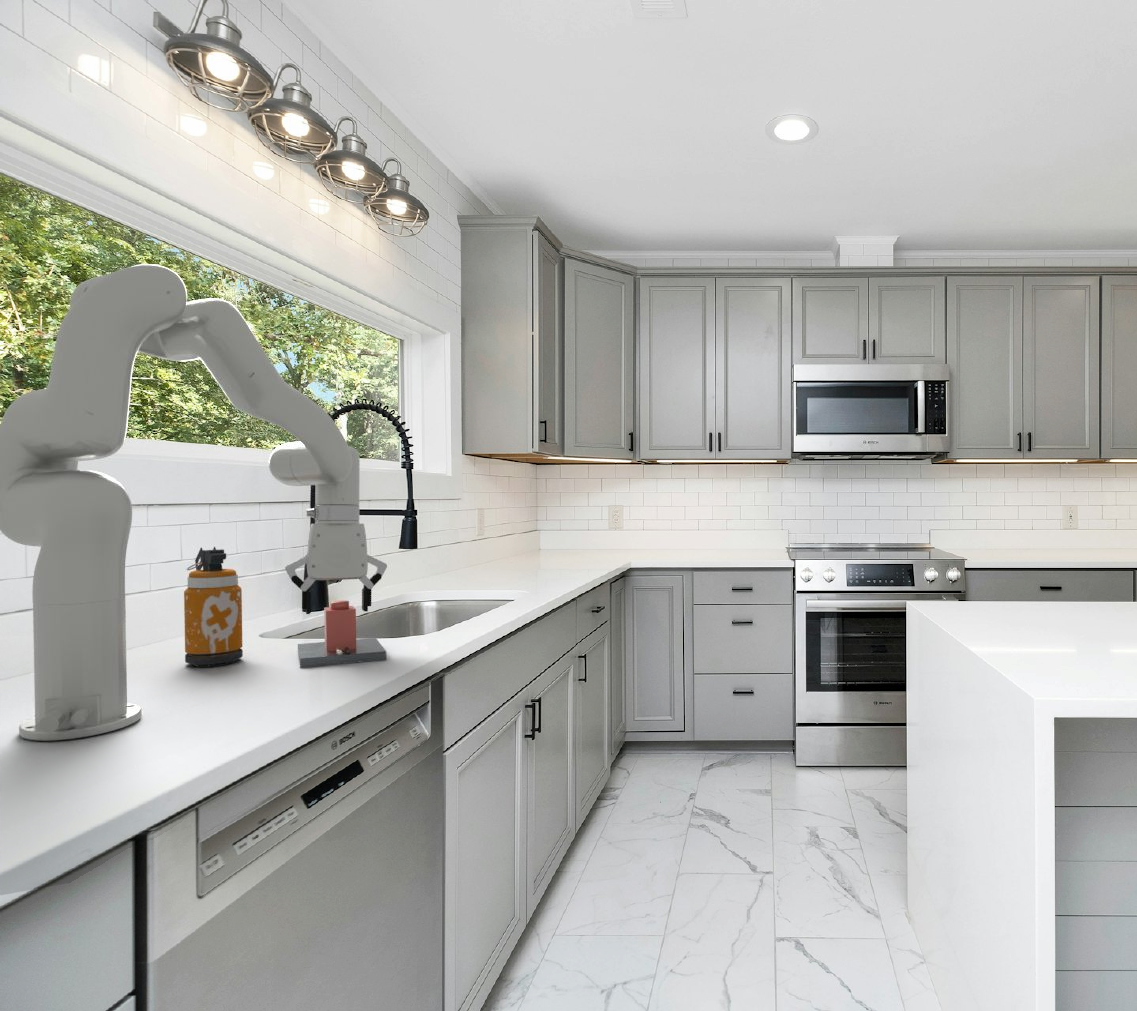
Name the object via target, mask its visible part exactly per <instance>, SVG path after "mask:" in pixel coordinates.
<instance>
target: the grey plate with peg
mask: <svg viewBox="0 0 1137 1011" xmlns="http://www.w3.org/2000/svg"><path fill="white" fill-rule="evenodd" d="M297 656H298V661H299V668H301V669H303V668H312V667H313V668H314V667H320V666H321V667H322V666H333V665H343V664H344V663H345V664H353V662H356V663H360V662H359V661H367V662H377V661H385V660H387V651H386V649H385V648H384V646H383V645H382V644H381V642H380V641H379V640H378V639H377V638H376V637H369V638H356V649H349V647H345V648H344V650H341V649H340V648H336V651H326V648H325V641H320V642H308V643H298V644H297ZM345 664H344V665H345Z"/></svg>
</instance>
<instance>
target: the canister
mask: <svg viewBox="0 0 1137 1011" xmlns="http://www.w3.org/2000/svg"><path fill="white" fill-rule="evenodd" d="M226 559H227V553H225V549H221V548H220V549H217V548H216V546H214V547H213V549H205V550H204V549H203V547H200V549H199V551H198V553H197V555H196V557H195V559H194V564H192V565H190V566H189V567H186V571H190V572H189V573H188V576H187V588H186V589H185V590H184V592H183V602H184V603H183V604H184V605H183V608H184V609H183V610H184V611H183V613H184V652H185V654H184V660H185V663H186V664H189V665H193V666H194V667H201V668H204V667H205V668H206V667H207V668H208V667H211V668H212V667H220V666H224V665H229V664H232V663H234V662H235V661H236V660H239V659H242V658H243V651H244V650H243V649H242V648H243V599H242V598H243V596H242V595H243V592H242V587H241V586H240V585H239V578H238V577H239V576H238V573H237V570H235V569H232V568H223V564H224V560H226ZM193 569H195V570H193ZM191 570H193V571H191Z"/></svg>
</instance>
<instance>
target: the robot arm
mask: <svg viewBox="0 0 1137 1011" xmlns="http://www.w3.org/2000/svg"><path fill="white" fill-rule="evenodd" d="M138 353H141V354H143V355H144V354H145V355H149V356H150V357H156V358H159V359H163V360H169V361H173V362H190V361H196V360H201V362H202V364H203V365H204V366H205V367H206V369H207V370H208V372H209V373H210V374H211V376H212V378H214V380H215V381H216V383H217V385H218V386H219V388H221V390H222V392H223V393H224V395H225V396H226V397H227V399H228V400H229V402H230V403H231V405H232V406H233V407H234V408H235V409H236V410H238V411H240V412H243V413H244V414H246V415H248V416H250V417H253V418H256V419H258V420H262V421H265V422H268V423H270V424H273V425H275V426H278V427H279V428H282V429H283V430H285V431H286V432H288V433H289V434H291V435H292V436H294V437H295V438H296V439H297V440H298V441H292V442H285V443H283V444H281V445H278V446H277V447H276V448H274V450H273V451H272V453H271V454H270V456H269V460H268V467H269V471H270V474H271V475H272V477H274V479H276V481H278V482H279V483H282V484H283V485H287V486H291V487H292V486H293V487H304V486H315V496H314V497H315V502H314V503H315V504H314V507H313V508H306V517H307V518H308V517H310V518H313V519H314V523H311V524H310V527H309V531H308V532H309V534H308V540H307V541H308V542H307V552H306V555H305V556H302V557H301V558H299V559H296V560H295V561H293V562H290V563H289V564H287V565H285V567H284V569H285V571H286V573H287V575H288V577H289V579H290V580H291V582H292V583H293V584H295V586H296V587H298V589H300V590H301V610H305V614H306V615H310V614H312V590H311V588H310V587H312V585H313V584H314V582H316V581H340V580H341V581H342V580H344V581H345V580H359V581H360V582H361V583H362V584H363V587H362V589H361V610H362V611H363V612H368V611H369V607H372V589H373V588H374V587H375V585H377V583H378V582H380V581H381V579H382V577H383V575H384V573H385V572H386V570H387V568H388V565H387V563H386V562H383V561H381V560H379V559H377V558H375V557H373V556H371V555H370V554H368V546H367V542H368V541H367V533H366V528H365V524H364V523H360V466H361V465H360V463H361V462H360V459H361V458H360V452H359V451H358V449H357V448H354V447H352V446H349V445H348V442H347V440H346V439H345V437H344V435H343V434H342V432H341V430H340V429H339V427H338V425H337V424H336V423H335V421H334V420H333V418H332V417H331V416H330V415H329V413H327V412H326V410H324V409H323V408H322V407H321V406H320V405H318V404H317V403H316V402H315V401H313V400H312V399H311V398H309V397H308V396H306V395H305V394H304V393H302V392H301V391H300V390H299V389H296V388H295V387H294V386H292V385H291V384H289V383H288V382H286V381H285V380H284V379H283V378H282V375H280V374H279V372H278V370H277V368H276V367H275V366H274V363H272V361H271V359H270V358H269V356H268V355H267V353H266V352H265V350H264V349H263V347H262V345H261V344H260V342H259V341H258V339H257V337H256V336H255V334H254V332H253V330H252V329H251V327H250V326H249V324H248V323H247V321H246V320H245V318H244V317H243V315H242V314H241V312H240V311H239V309H238V308H237V307H236V306H235V305H234V304H232V303H231V302H229V301H227V300H224V299H221V298H204V299H203V298H201V299H196V300H191V301H188V293H187V287H186V285H185V283H184V281H183V280H182V278H181V277H180V275H179V274H178V273H176V272H175V271H173V269H170V268H168V267H166V266H162V265H159V264H151V263H150V264H149V263H148V264H145V263H144V264H137V265H133V266H129V267H125V268H120V269H119V270H116V271H113V272H111V273H108V274H103V275H101V276H95V277H92V278H90V279H87V280H85V281H83V282H81V283H79V284H78V285H77V286H76V287H75V288H74V290H73V292H72V293H71V296H70V299H69V309H68V311H67V312H66V314H65V316H64V318H63V319H62V321H61V323H60V326H59V330H58V332H57V336H56V338H55V344H54V351H53V356H52V361H51V366H50V367H51V368H50V373H49V380H48V383H47V386H46V388H42V389H36V390H32V391H29V392H27V393H24V394H22V395H20V396H19V397H17V398H16V399H14V400H13V402H12V403H11V404H10V405H9V406H8V408H7V409H6V410H5V413H3V417H2V419H1V422H0V532H1V533H2V534H3V536H4V537H6V538H7V539H9V540H11V541H13V542H15V543H17V544H20V545H24V546H29V547H40V549H39V553H38V557H37V559H36V563H35V566H34V570H33V578H32V589H31V590H32V591H31V592H32V620H33V621H32V624H33V626H32V628H33V630H32V631H33V670H34V673H33V677H34V679H33V680H34V684H33V685H34V686H33V687H34V716H31V717H29V718H27V719H25V720H24V721H23V722H22V723H20V724H19V727H18V730H19V731H18V734H19V736H20V737H21V738H23V739H26V740H29V741H30V740H31V741H44V742H45V741H48V742H49V741H63V740H64V741H65V740H73V739H80V738H87V737H91V736H92V737H93V736H97V735H101V734H102V735H103V734H106V733H109V732H110V733H111V732H113V731H117V730H120V729H123V728H126V727H129V726H131V725H133V724H134V723H136V722H138V721H139V720H140V719H141V718H142V716H143V715H142V707H141V706H139V705H137V704H134V703H129V702H128V678H127V676H128V675H127V674H128V671H127V670H128V669H127V666H128V665H127V620H126V618H127V617H126V559H127V558H126V557H127V549H128V548H127V547H128V543H129V539H130V533H131V528H132V522H133V506H132V500H131V499H130V496H129V494H128V492H127V490H126V489H125V488H124V486H123V485H122V484H121V482H119V481H117V479H115V478H114V477H111V476H109V475H107V474H105V473H103V472H99V471H95V470H89V469H87V470H85V469H78V466H79V462H82V461H93V460H100V459H105V458H107V457H110V456H112V455H114V454H116V453H117V452H118V451H119V450H120V449H121V448H122V447H123V445H124V443H125V441H126V437H127V432H128V422H129V410H130V409H129V408H130V400H131V387H132V378H133V377H132V376H133V370H134V364H135V360H136V357H137V354H138ZM304 565H306V570H307V571H306V573H307V576H306V578H305V579H304V580H302V579H301V578H300V577H299V576H298V574H297V572H296V570H297V569H300V568H301V567H302V566H304ZM368 565H372V566H374V567H376V571H375V573H374V574H373V575H372V576H371V577H370V578H369V577H368V576H367V575H368V571H369V569H368V568H369V567H368Z"/></svg>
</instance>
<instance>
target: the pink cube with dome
mask: <svg viewBox="0 0 1137 1011" xmlns="http://www.w3.org/2000/svg"><path fill="white" fill-rule="evenodd" d="M329 604H330V605H329V607H327V606H326V607H323V612H324V614H323V615H324V616H323V619H324V621H323V622H324V642H325V648H326V651H336V648H340V649H341V650H344V648H345V647H349V649H356V639H357V609H356V607H354V605H350V601H349V600H333V601H332V600H331V601H329Z"/></svg>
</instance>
